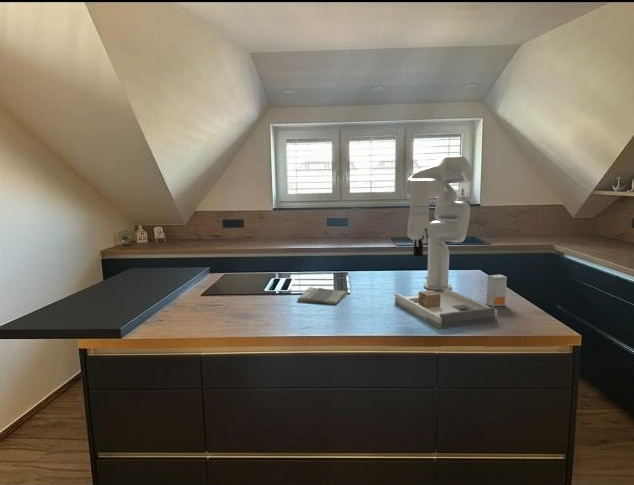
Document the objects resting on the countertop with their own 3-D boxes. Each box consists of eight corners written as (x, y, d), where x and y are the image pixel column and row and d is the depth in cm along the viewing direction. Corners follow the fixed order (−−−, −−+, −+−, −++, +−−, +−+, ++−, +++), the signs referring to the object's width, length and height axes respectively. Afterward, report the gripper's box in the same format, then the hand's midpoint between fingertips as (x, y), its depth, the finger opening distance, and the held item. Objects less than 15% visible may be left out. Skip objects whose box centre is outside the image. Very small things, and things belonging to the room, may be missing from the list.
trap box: (395, 302, 173) (395, 291, 172) (445, 297, 179) (445, 285, 179) (438, 328, 142) (439, 314, 142) (496, 321, 149) (497, 307, 148)
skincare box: (492, 307, 165) (494, 277, 163) (485, 303, 169) (487, 275, 167) (505, 305, 167) (507, 276, 165) (498, 302, 171) (500, 274, 169)
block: (418, 303, 164) (418, 291, 163) (431, 302, 166) (431, 290, 165) (426, 308, 159) (426, 295, 158) (440, 306, 160) (440, 293, 160)
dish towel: (337, 307, 170) (337, 299, 169) (296, 303, 176) (296, 296, 175) (348, 294, 187) (348, 287, 187) (311, 291, 193) (311, 285, 192)
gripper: (401, 209, 171) (400, 253, 174) (420, 212, 157) (419, 259, 160) (417, 209, 173) (416, 252, 176) (438, 211, 159) (436, 258, 162)
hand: (418, 255), depth 168 cm, fingers closed
